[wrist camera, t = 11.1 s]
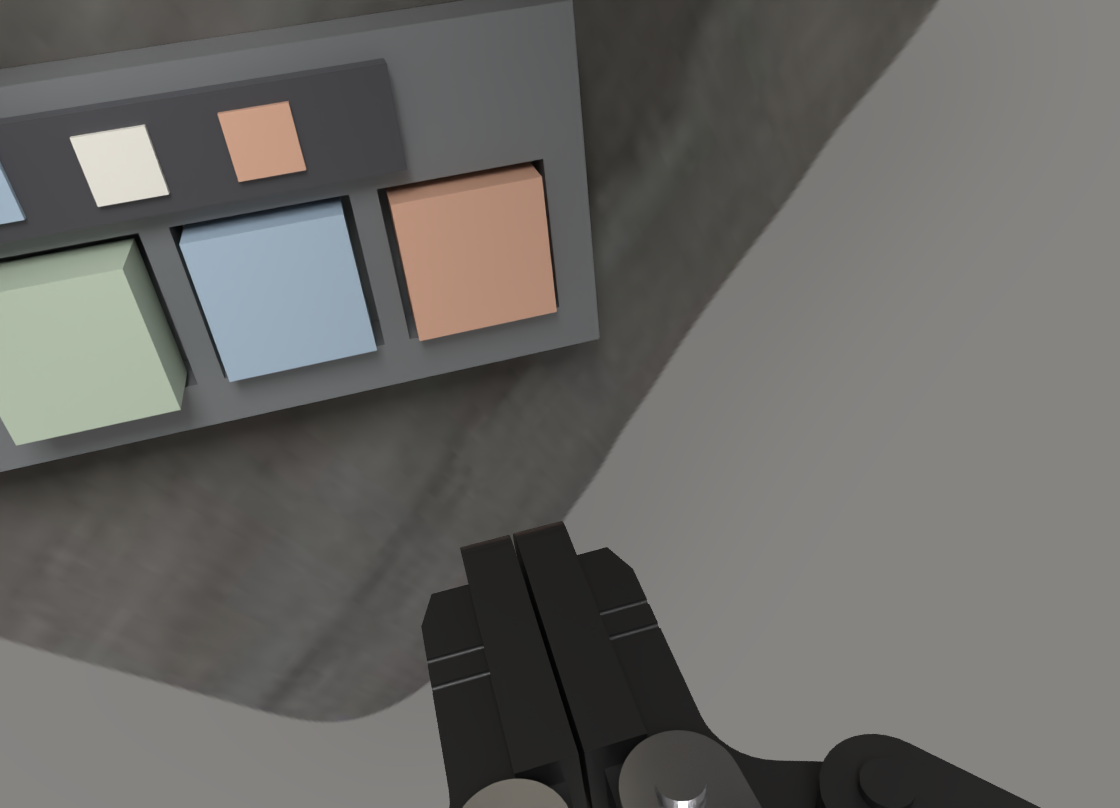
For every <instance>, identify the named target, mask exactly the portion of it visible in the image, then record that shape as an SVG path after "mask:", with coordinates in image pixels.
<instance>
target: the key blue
mask: <svg viewBox="0 0 1120 808" xmlns="http://www.w3.org/2000/svg"><path fill="white" fill-rule="evenodd" d="M179 245H180V248H181V251H182V253H183V256H184V259H185V262H186V264H187V267H188V270H189V272H190V275H191V278H192V281H193V283H194V286H195V289H196V292H197V294H198V297H199V300H200V302H201V305H202V308H203V311H204V313H205V316H206V319H207V322H208V324H209V327H210V330H211V332H212V335H213V338H214V341H215V343H216V346H217V349H218V352H219V354H220V357H221V360H222V362H223V365H224V368H225V371H226V373H227V376H228V379H229V382H232V381H237V380H242V379H246V378H251V377H256V376H260V375H265V374H270V373H274V372H279V371H284V370H288V369H293V368H298V367H302V366H307V365H312V364H316V363H321V362H326V361H330V360H335V359H340V358H344V357H349V356H353V355H358V354H363V353H367V352H372V351H377V347H376V342H375V337H374V332H373V327H372V322H371V317H370V313H369V309H368V305H367V301H366V297H365V293H364V289H363V285H362V281H361V277H360V273H359V269H358V264H357V260H356V256H355V252H354V248H353V244H352V240H351V236H350V232H349V228H348V224H347V220H346V216H345V212H344V208H343V204H342V200H341V196H338V197H332V198H327V199H321V200H316V201H310V202H305V203H299V204H294V205H289V206H283V207H278V208H272V209H267V210H261V211H256V212H250V213H245V214H239V215H234V216H228V217H223V218H218V219H212V220H207V221H201V222H196V223H190V224H185V225H184V228H183V232H182V236H181V240H180V244H179Z"/></svg>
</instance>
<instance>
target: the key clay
mask: <svg viewBox="0 0 1120 808" xmlns="http://www.w3.org/2000/svg"><path fill="white" fill-rule="evenodd" d="M385 193H386V198H387V202H388V207H389V211H390V216H391V221H392V225H393V230H394V235H395V239H396V244H397V248H398V253H399V258H400V262H401V267H402V272H403V276H404V281H405V286H406V290H407V295H408V299H409V304H410V309H411V313H412V316H413V320H414V323H415V327H416V330H417V334H418V337H419V341H423V340H428V339H433V338H437V337H442V336H446V335H451V334H456V333H460V332H465V331H470V330H474V329H479V328H484V327H488V326H493V325H498V324H502V323H507V322H512V321H516V320H521V319H526V318H530V317H535V316H540V315H544V314H549V313H554V312H557V309H556V300H555V291H554V282H553V273H552V264H551V255H550V246H549V237H548V227H547V218H546V209H545V200H544V191H543V182H542V176H541V175H540V174H539V173H538V171H537V170H536V169H535V168H534V167H533V165H532V164H531V163H530V162H523V163H518V164H512V165H507V166H501V167H496V168H490V169H485V170H480V171H474V172H469V173H463V174H458V175H452V176H447V177H441V178H436V179H430V180H425V181H419V182H414V183H409V184H403V185H398V186H392V187H387V188H385Z"/></svg>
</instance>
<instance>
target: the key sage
mask: <svg viewBox="0 0 1120 808" xmlns="http://www.w3.org/2000/svg"><path fill="white" fill-rule="evenodd" d="M186 377H187V370H186V367H185V365H184V362H183V360H182V357H181V355H180V352H179V350H178V347H177V345H176V342H175V340H174V337H173V335H172V332H171V330H170V327H169V325H168V322H167V320H166V317H165V314H164V312H163V309H162V307H161V304H160V302H159V299H158V297H157V294H156V292H155V289H154V287H153V284H152V282H151V279H150V277H149V274H148V272H147V269H146V266H145V264H144V261H143V259H142V256H141V254H140V251H139V249H138V246H137V244H136V241H135V239H134V238H132V239H126V240H121V241H115V242H110V243H104V244H99V245H94V246H88V247H83V248H77V249H72V250H66V251H61V252H56V253H50V254H45V255H39V256H34V257H28V258H23V259H18V260H12V261H7V262H1V263H0V417H1V419H2V421H3V423H4V425H5V426H6V428H7V430H8V432H9V434H10V435H11V437H12V439H13V441H14V443H15V444H16V446H17V445H21V444H26V443H31V442H35V441H40V440H44V439H49V438H54V437H58V436H63V435H67V434H72V433H76V432H81V431H86V430H90V429H95V428H99V427H104V426H109V425H113V424H118V423H122V422H127V421H132V420H136V419H141V418H145V417H150V416H154V415H159V414H164V413H168V412H173V411H177V410H181V405H182V399H183V394H184V388H185V382H186Z"/></svg>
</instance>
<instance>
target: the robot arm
mask: <svg viewBox="0 0 1120 808" xmlns="http://www.w3.org/2000/svg"><path fill="white" fill-rule="evenodd" d="M513 539H514V545H515V550H516V553H515V550H514V546H513V543H512V540H511V538H510V535H507V536H503V537H499V538H495V539H492V540H488V541H484V542H480V543H476V544H472V545H468V546H465V547H461V548H460V549H461V554H462V558H463V562H464V566H465V571H466V575H467V579H468V583H469V584H468V585H464V586H461V587H457V588H453V589H449V590H446V591H442V592H438V593H434V594H432V595H431V598H430V601H429V604H428V607H427V611H426V614H425V617H424V620H423V623H422V626H421V627H422V633H423V639H424V645H425V651H426V657H427V661H428V669H429V675H430V681H431V686H432V691H433V698H434V704H435V710H436V716H437V722H438V728H439V734H440V740H441V746H442V752H443V758H444V764H445V770H446V776H447V782H448V787H449V797H450V807H449V808H1040V807H1038V806H1036V805H1034V804H1032V803H1030V802H1028V801H1026V800H1024V799H1022V798H1020V797H1018V796H1015V795H1014V794H1012V793H1010V792H1008V791H1006V790H1003V789H1001V788H999V787H997V786H995V785H993V784H991V783H989V782H987V781H985V780H983V779H981V778H979V777H977V776H975V775H973V774H971V773H969V772H967V771H965V770H963V769H961V768H958V767H956V766H955V765H953V764H950V763H948V762H946V761H944V760H942V759H940V758H938V757H936V756H934V755H932V754H930V753H928V752H926V751H924V750H922V749H920V748H918V747H916V746H914V745H912V744H910V743H907V742H905V741H903V740H900V739H897V738H894V737H890V736H886V735H878V734H864V735H859V736H854V737H851V738H848V739H846V740H844V741H842V742H841V743H839V744H838V745H836V746H835V747H834V748H833V749H832V750H831V751H830V752H829V754H828V755H827V756H826V758H825V759H824V762H817V761H816V762H815V761H776V760H765V759H760V758H755V757H751V756H749V755H746V754H743V753H740V752H739V751H736V750H734V749H733V748H731V747H729V746H728V745H726V744H725V743H724V742H722V741H721V740H720V739H719V738H718V737H717V736H716V735H714V734H713V733H712V732H711V730H710V729H709V728H708V726H707V725H706V724H705V722H704V720H703V719H702V717H701V715H700V713H699V711H698V708H697V706H696V704H695V702H694V700H693V698H692V696H691V693H690V691H689V689H688V687H687V685H686V683H685V680H684V678H683V676H682V674H681V672H680V670H679V667H678V665H677V663H676V661H675V659H674V657H673V655H672V653H671V650H670V648H669V646H668V644H667V642H666V639H665V637H664V635H663V633H662V631H661V629H660V628H659V627H658V623H657V620H656V618H655V616H654V614H653V611H652V609H651V607H650V605H649V604H648V603H647V599H646V596H645V594H644V592H643V590H642V588H641V586H640V583H639V581H638V579H637V577H636V575H635V573H634V571H633V569H632V568H631V567H630V566H629V565H628V564H626V563H625V562H624V561H623V560H622V559H620V558H619V557H618V556H617V555H616V554H614V553H613V552H612V551H611V550H610V549H609V548H607V547H606V548H602V549H599V550H595V551H591V552H587V553H584V554H580V555H577V554H576V552H575V549H574V547H573V544H572V542H571V540H570V537H569V534H568V532H567V530H566V527H565V525H564V523H563V522H562V521H560V522H556V523H552V524H548V525H545V526H541V527H537V528H533V529H529V530H525V531H521V532H518V533H514V534H513ZM516 555H517V556H516Z"/></svg>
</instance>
